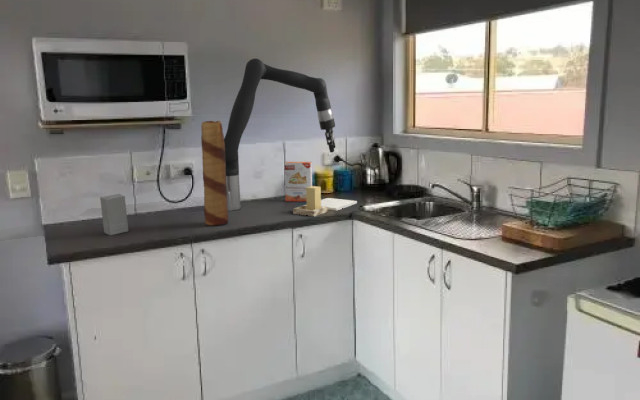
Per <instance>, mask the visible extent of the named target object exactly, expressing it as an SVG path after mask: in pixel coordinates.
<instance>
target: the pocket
mask: <svg viewBox="0 0 640 400" xmlns="http://www.w3.org/2000/svg"><path fill="white" fill-rule="evenodd" d="M325 213H328V210H327V207H325V206H324V207H321V208H318V209H315V210H307V203H306V204H303V205H300V206H297V207H294V208H293V209H292V214H293V215H299V214H300V216H306V215H308V217H313V216H314V217H317V216H320V215H323V214H325Z"/></svg>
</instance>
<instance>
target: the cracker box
mask: <svg viewBox="0 0 640 400" xmlns="http://www.w3.org/2000/svg"><path fill="white" fill-rule="evenodd" d="M310 186H313V163H312V161H285V162H284V191H285V192H284V193H285V194H284V195H285V199H284V200H285V202H299V203H300V202H302V203H303V202H304V203H305V202H306V187H310Z"/></svg>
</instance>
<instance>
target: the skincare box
mask: <svg viewBox="0 0 640 400" xmlns="http://www.w3.org/2000/svg"><path fill="white" fill-rule="evenodd" d="M99 198H100V199H99V200H100V207H101V216H102V217H101V218H102V226H103V232H104V234H107V235H109V236H113V235H114V236H115V235H118V234H119V235H120V234H122V233H123V234H124V233H127V232H129V224H128V223H129V222H128V214H127V205H126V196H125V195H123V194H121V193H116V194H111V195H105V196H100V197H99Z"/></svg>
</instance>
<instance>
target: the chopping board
mask: <svg viewBox="0 0 640 400" xmlns="http://www.w3.org/2000/svg"><path fill="white" fill-rule="evenodd" d="M357 204H358V201H357V200H353V199H344V198H343V199H340V198H333V197H327V198H321V207H324V206H325V207H327V211H339V210H343V209H345V208H349V207H350V206H353V205H357ZM342 208H343V209H342Z"/></svg>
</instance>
